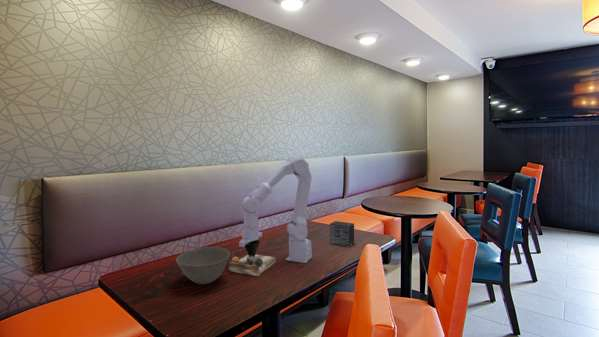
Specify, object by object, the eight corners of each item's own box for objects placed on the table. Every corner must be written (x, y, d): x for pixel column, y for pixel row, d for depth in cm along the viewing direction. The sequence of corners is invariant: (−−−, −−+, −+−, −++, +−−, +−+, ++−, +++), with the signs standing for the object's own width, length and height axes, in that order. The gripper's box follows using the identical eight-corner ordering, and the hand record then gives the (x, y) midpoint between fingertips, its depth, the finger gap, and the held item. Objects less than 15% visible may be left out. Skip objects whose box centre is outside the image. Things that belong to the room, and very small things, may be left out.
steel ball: (253, 253, 128) (250, 260, 126) (256, 258, 130) (253, 265, 128) (247, 252, 129) (243, 259, 127) (250, 256, 131) (246, 263, 129)
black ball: (264, 265, 126) (264, 257, 125) (260, 267, 123) (260, 260, 123) (257, 264, 127) (257, 256, 127) (253, 266, 124) (253, 259, 124)
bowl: (176, 276, 121) (175, 251, 120) (225, 267, 129) (225, 244, 128) (178, 298, 104) (177, 269, 103) (235, 287, 111) (234, 259, 111)
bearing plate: (275, 262, 134) (275, 254, 134) (257, 276, 120) (257, 267, 120) (249, 258, 139) (249, 250, 139) (229, 271, 125) (228, 262, 125)
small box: (354, 243, 156) (354, 222, 155) (349, 247, 151) (349, 226, 150) (335, 240, 162) (335, 220, 161) (329, 244, 156) (329, 223, 156)
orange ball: (240, 263, 128) (240, 256, 128) (236, 266, 125) (236, 258, 125) (234, 262, 129) (234, 255, 129) (230, 264, 126) (230, 257, 126)
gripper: (252, 220, 137) (252, 251, 138) (232, 229, 123) (233, 263, 125) (266, 222, 134) (266, 253, 135) (247, 231, 121) (248, 266, 122)
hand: (251, 258), depth 130 cm, fingers closed, pressing on steel ball
